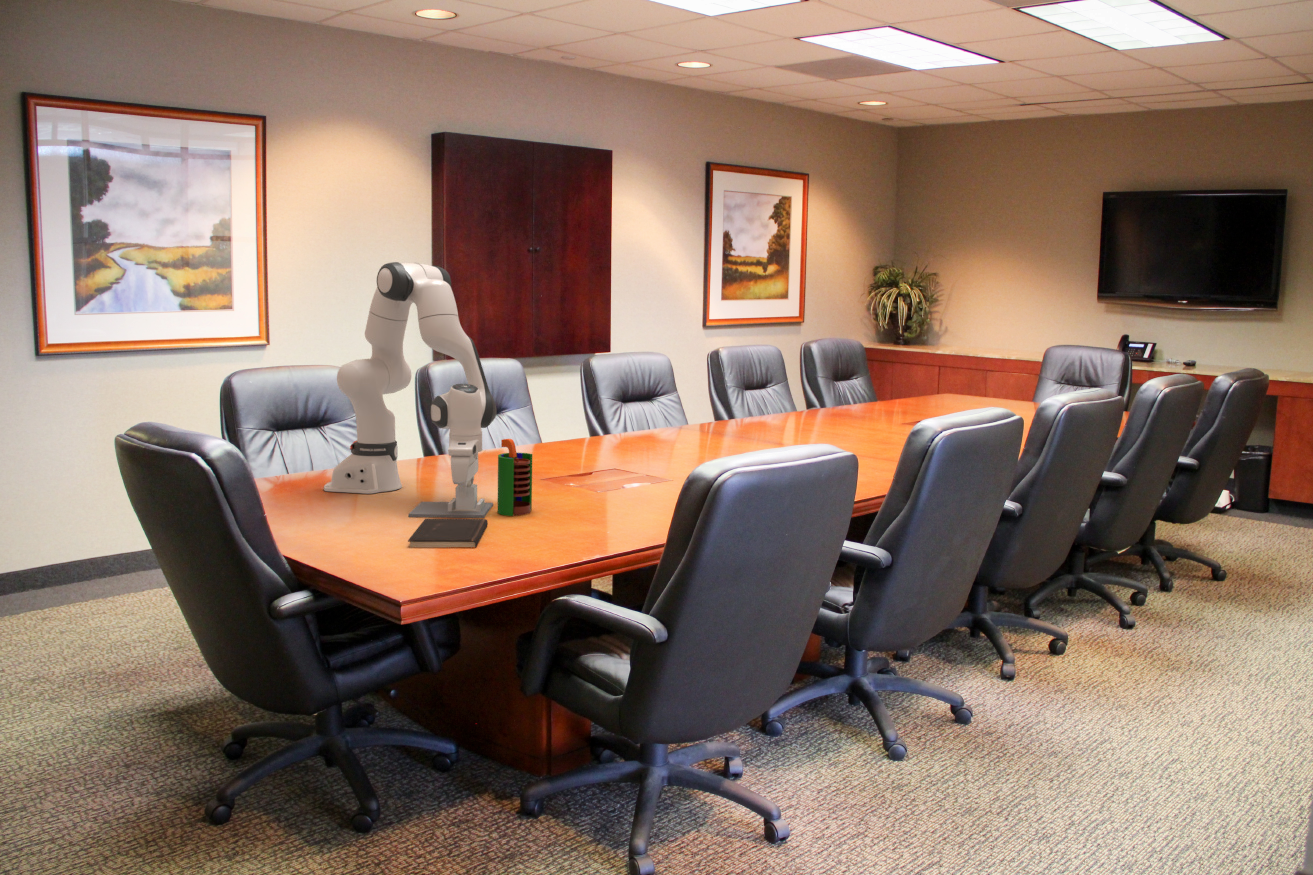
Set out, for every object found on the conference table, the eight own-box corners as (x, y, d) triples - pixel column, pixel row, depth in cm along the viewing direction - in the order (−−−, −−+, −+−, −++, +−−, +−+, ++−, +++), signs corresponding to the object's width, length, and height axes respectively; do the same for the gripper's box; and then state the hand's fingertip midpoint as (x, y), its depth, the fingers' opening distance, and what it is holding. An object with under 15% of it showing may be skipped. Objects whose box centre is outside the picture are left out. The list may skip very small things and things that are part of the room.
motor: (523, 517, 284) (523, 443, 281) (492, 515, 286) (491, 441, 283) (535, 509, 294) (535, 437, 291) (504, 507, 295) (504, 436, 293)
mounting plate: (408, 516, 282) (408, 506, 281) (421, 504, 297) (421, 494, 297) (483, 518, 282) (483, 507, 281) (492, 505, 298) (492, 495, 297)
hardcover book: (407, 549, 250) (407, 540, 250) (425, 527, 273) (425, 518, 273) (476, 549, 251) (476, 540, 251) (487, 527, 274) (487, 518, 273)
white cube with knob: (455, 509, 287) (455, 480, 286) (459, 505, 292) (458, 476, 291) (474, 509, 287) (473, 480, 286) (477, 505, 292) (477, 477, 291)
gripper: (461, 438, 297) (461, 487, 299) (446, 450, 277) (447, 502, 279) (483, 439, 297) (483, 487, 299) (471, 450, 277) (471, 502, 279)
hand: (466, 494), depth 289 cm, fingers open, 8 cm apart
